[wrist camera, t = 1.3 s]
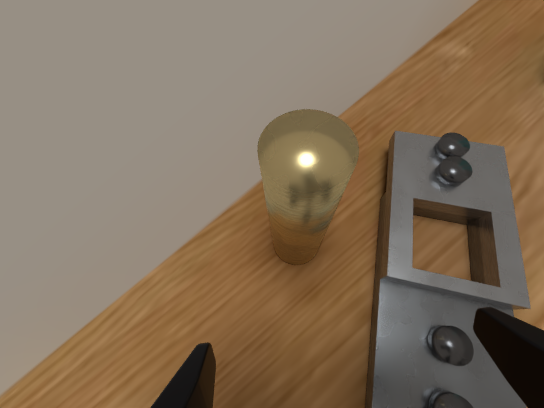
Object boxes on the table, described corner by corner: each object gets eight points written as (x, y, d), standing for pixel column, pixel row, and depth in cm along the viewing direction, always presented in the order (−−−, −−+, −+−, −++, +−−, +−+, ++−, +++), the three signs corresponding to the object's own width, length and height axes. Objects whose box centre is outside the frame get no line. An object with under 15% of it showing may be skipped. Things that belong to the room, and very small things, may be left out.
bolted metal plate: (516, 475, 16) (583, 521, 12) (363, 427, 17) (383, 455, 14) (480, 165, 26) (512, 139, 22) (384, 149, 27) (399, 123, 23)
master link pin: (322, 263, 22) (369, 186, 10) (274, 266, 22) (259, 195, 10) (315, 219, 24) (348, 105, 11) (272, 222, 24) (256, 113, 11)
